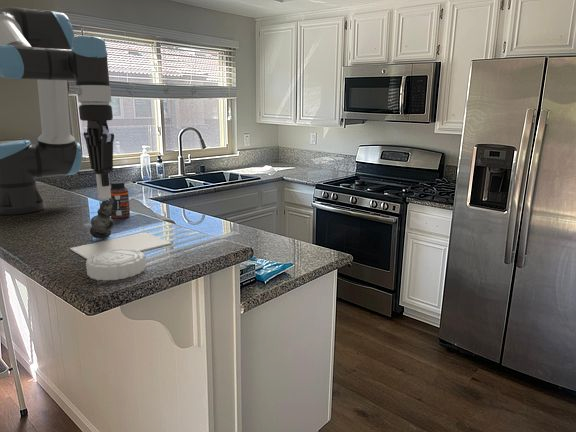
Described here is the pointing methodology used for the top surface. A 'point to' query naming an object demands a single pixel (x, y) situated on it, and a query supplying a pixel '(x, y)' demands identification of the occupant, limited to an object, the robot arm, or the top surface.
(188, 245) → the top surface
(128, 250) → the mooncake
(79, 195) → the top surface
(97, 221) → the salt shaker
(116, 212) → the supplement bottle
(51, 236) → the top surface
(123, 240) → the board
